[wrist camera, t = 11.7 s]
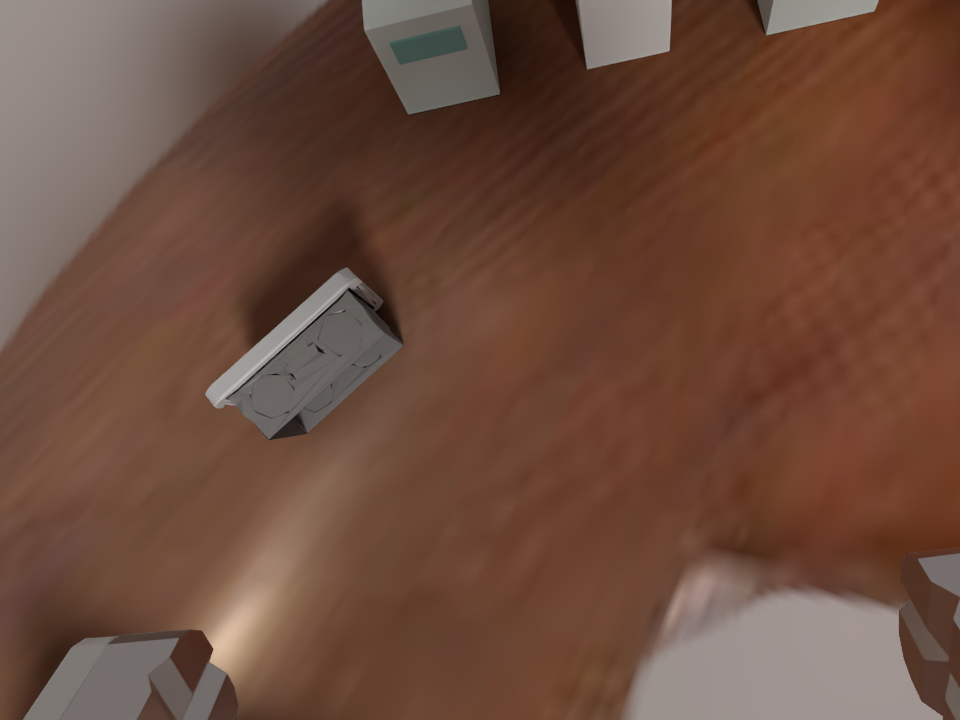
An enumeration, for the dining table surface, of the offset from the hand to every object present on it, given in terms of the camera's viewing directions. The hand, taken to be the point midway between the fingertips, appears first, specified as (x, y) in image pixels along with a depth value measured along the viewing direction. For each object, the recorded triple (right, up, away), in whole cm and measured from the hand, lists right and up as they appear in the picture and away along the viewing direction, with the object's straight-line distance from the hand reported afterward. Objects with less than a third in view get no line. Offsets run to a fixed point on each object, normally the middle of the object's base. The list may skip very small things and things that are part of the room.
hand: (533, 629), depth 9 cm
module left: (-3, +23, +40) cm, 47 cm away
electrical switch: (-8, +2, +36) cm, 37 cm away
